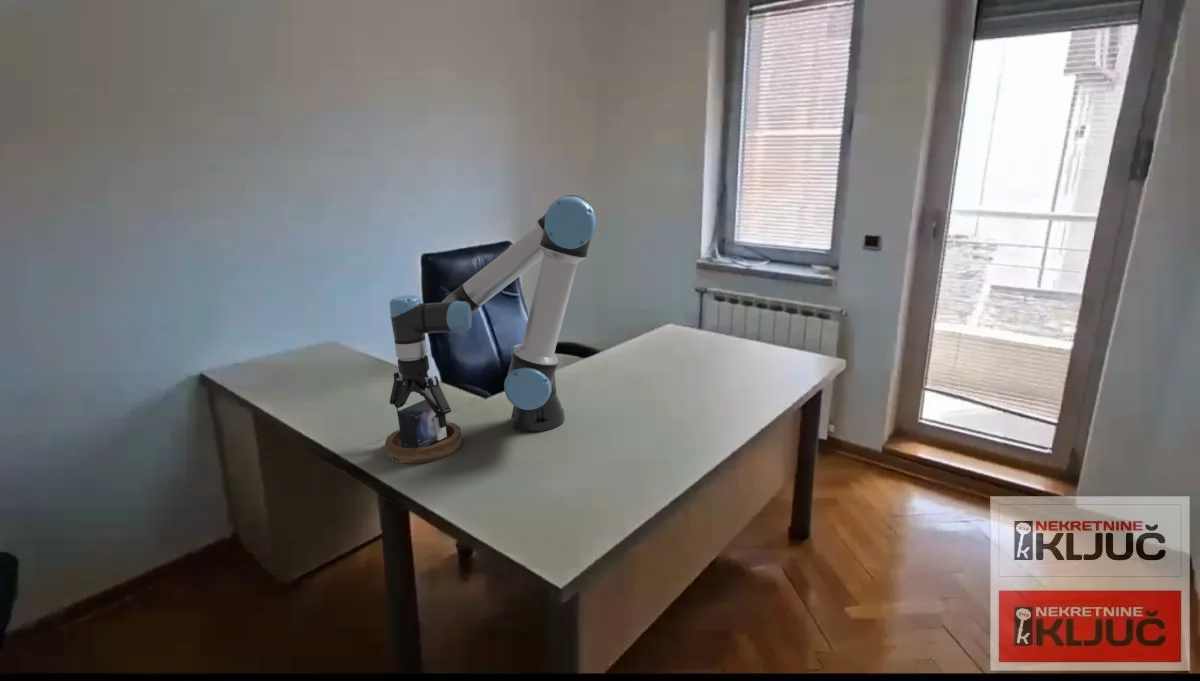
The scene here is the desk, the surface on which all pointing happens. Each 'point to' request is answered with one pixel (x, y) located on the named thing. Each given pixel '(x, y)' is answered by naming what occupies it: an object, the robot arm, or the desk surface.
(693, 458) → the desk surface
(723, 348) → the desk surface
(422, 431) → the small box
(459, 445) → the tray
